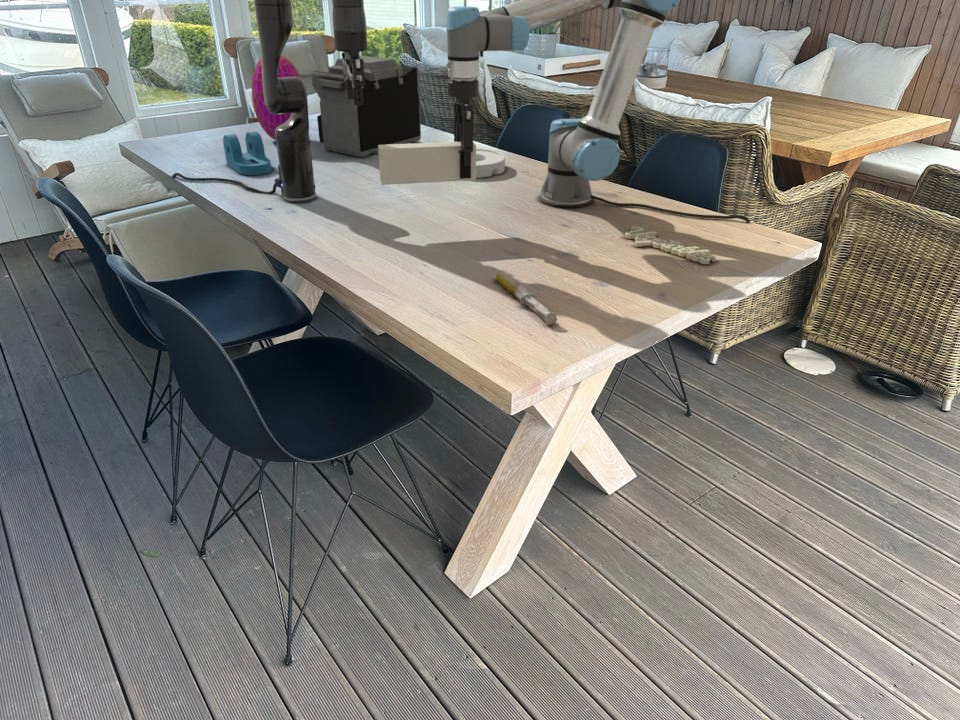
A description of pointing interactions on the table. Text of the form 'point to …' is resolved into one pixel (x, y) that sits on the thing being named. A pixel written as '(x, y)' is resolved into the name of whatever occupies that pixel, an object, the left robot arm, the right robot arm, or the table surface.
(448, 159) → the bar
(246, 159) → the camera mount
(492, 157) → the ashtray
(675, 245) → the decorative sign
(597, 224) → the table surface
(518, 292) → the syringe
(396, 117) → the tool box
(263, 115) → the decorative egg
